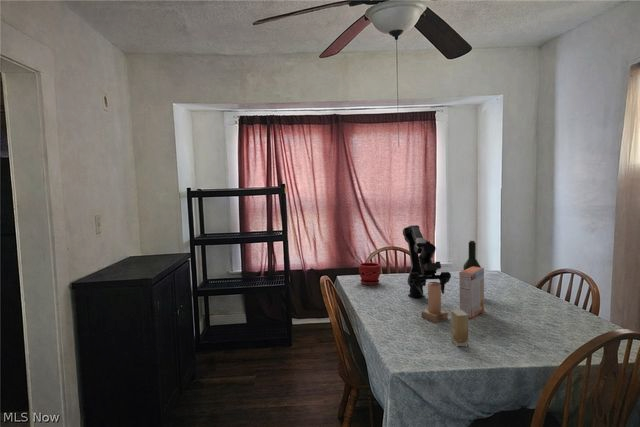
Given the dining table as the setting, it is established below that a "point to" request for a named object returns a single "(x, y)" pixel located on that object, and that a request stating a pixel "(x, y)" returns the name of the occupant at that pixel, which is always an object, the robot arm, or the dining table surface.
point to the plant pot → (369, 273)
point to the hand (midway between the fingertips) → (433, 294)
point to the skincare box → (459, 327)
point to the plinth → (434, 316)
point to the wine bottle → (471, 256)
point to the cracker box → (472, 291)
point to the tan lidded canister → (434, 297)
